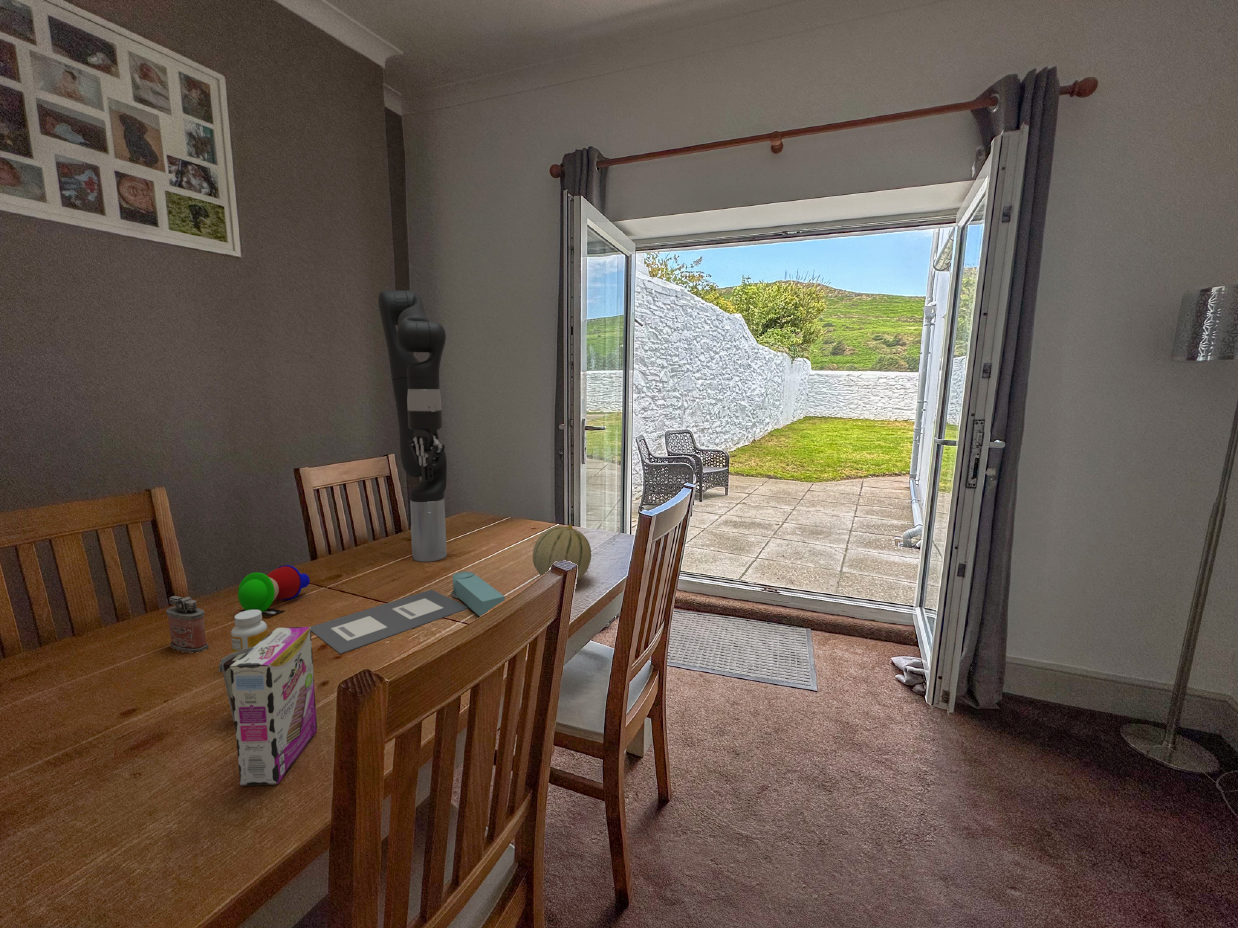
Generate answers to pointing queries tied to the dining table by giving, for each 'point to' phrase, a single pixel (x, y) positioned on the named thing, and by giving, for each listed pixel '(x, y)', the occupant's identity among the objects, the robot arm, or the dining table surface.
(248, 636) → the supplement bottle
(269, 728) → the candy bar box
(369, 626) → the label panel
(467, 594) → the block
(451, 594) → the pivot base
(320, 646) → the dining table surface
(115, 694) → the dining table surface
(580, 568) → the cantaloupe
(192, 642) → the lighter
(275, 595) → the toy figure
